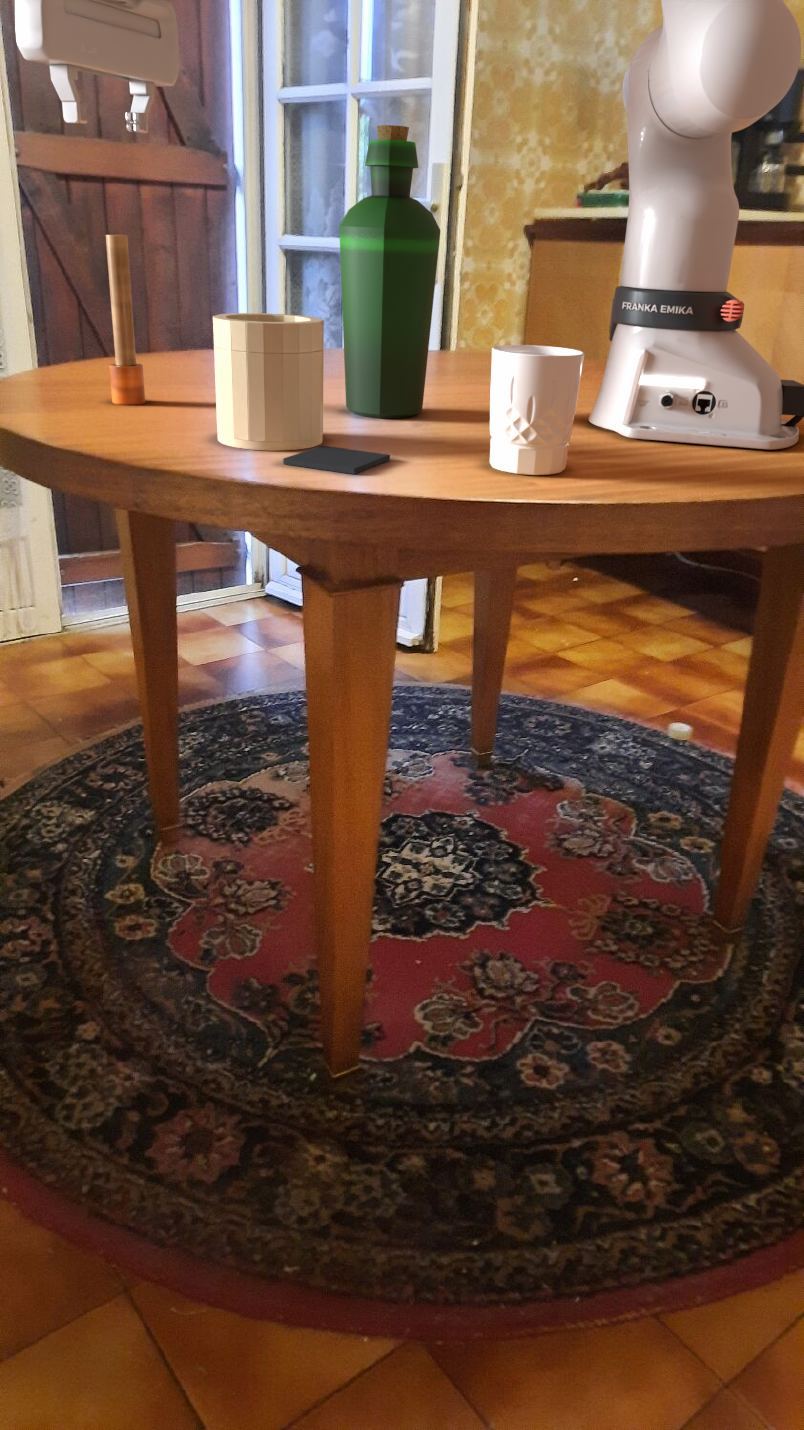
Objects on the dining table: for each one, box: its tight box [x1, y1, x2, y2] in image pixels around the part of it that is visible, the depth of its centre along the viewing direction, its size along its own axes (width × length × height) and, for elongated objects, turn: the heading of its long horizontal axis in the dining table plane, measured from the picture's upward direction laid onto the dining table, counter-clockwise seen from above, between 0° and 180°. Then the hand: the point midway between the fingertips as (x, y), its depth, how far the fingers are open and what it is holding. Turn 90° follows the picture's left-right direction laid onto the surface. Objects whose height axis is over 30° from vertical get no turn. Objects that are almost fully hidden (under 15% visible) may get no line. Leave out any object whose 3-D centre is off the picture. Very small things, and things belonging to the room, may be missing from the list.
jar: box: [212, 312, 325, 452], centre depth 96 cm, size 10×10×11 cm
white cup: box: [489, 344, 585, 476], centre depth 89 cm, size 8×8×10 cm
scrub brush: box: [105, 234, 146, 406], centre depth 110 cm, size 4×4×17 cm
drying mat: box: [282, 445, 391, 475], centre depth 90 cm, size 7×7×1 cm
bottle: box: [338, 124, 441, 419], centre depth 109 cm, size 11×11×28 cm
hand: (108, 128), depth 103 cm, fingers open, 8 cm apart
